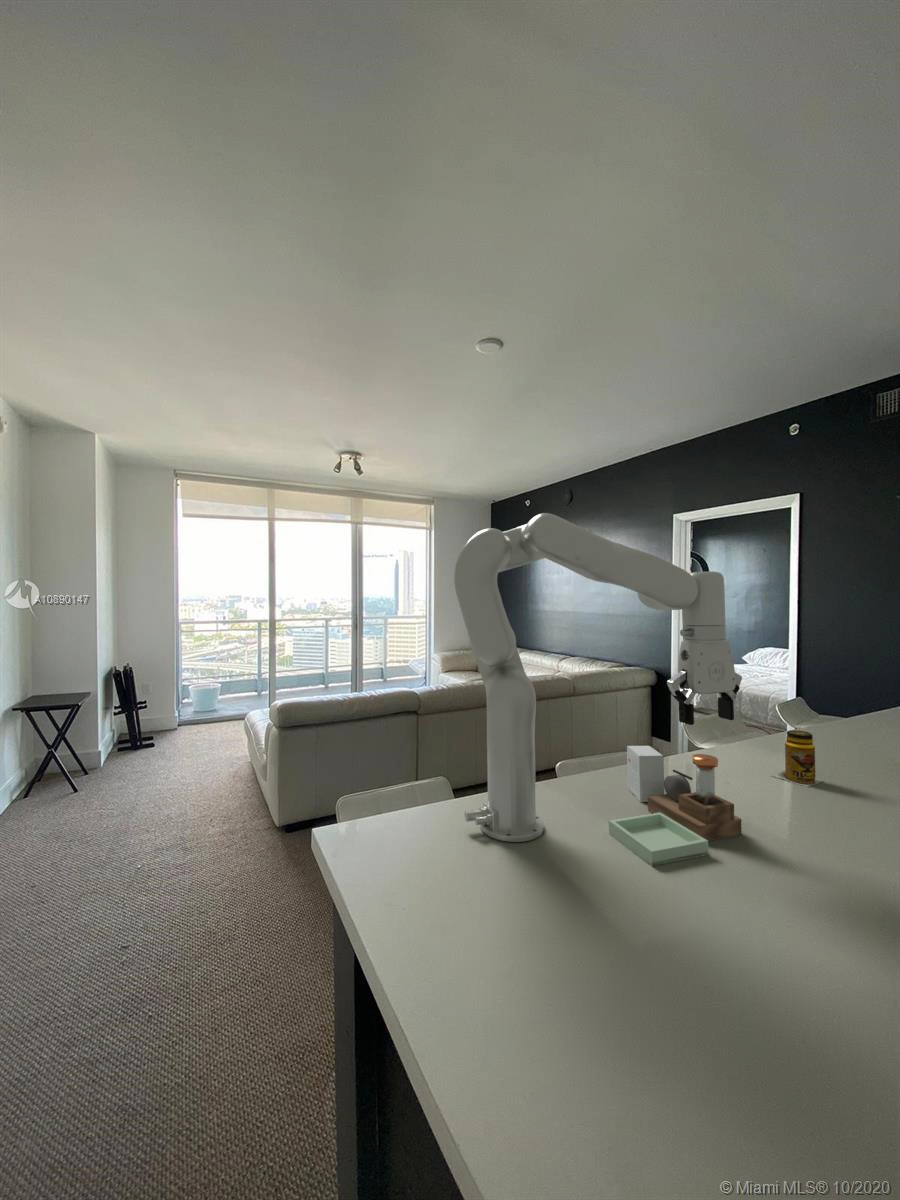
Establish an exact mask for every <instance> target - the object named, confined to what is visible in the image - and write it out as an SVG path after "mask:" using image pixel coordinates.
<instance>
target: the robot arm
mask: <svg viewBox="0 0 900 1200" xmlns="http://www.w3.org/2000/svg"><path fill="white" fill-rule="evenodd" d="M460 550H461V551H460V552H459V553H458V556H457V559H456V563H455V566H454V567H455V568H454V573H453V575H454V577H453V581H454V582H453V583H454V589H455V594H456V598H457V601H458V604H459V607H460V612H461V614H462V619H463V621H464V625H465V628H466V632H467V634H468V637H469V645H470V649H471V651H472V653H473V656H474V659H475V661H476V665H477V667H478V671H479V673H480V676H481V680H482V682H483V686H484V688H485V689H484V690H485V694H486V695H485V696H486V750H487V751H486V752H487V754H486V755H487V759H486V760H487V801H483V805H482V806H483V807H479V809H476V810H474V809H473V810H467V811H466V810H465V811H464V820H465V822H467V823H468V822H474V824H475V825H476V826H480V829H481V831H482V832H483V833H484V834H485V835H486V836H488V837H490V838H492V839H495V840H497V841H500V842H501V841H503V842H507V843H508V842H509V843H522V842H523V843H524V842H529V841H531V840H534V839H537V838H538V837H540V836H541V835H542V834H543V833H544V828H545V824H544V820H542V818H541V817H540V816H539V815H538V814H536V812H537V811H536V749H535V748H536V744H535V743H536V741H535V733H536V732H535V731H536V730H535V729H536V715H537V713H536V710H537V696H536V690H535V687H534V685H533V682H532V681H531V679H530V678H529V677H528V675H527V674H526V671H525V668H524V666H523V663H522V660H521V656H520V653H519V650H518V647H517V637H516V634H515V632H514V629H513V628H512V626H511V623H510V621H509V619H508V616H507V612H506V610H505V606H504V603H503V600H502V595H501V593H500V589H499V586H498V577H499V576H498V574H499V573H502V572H504V571H505V572H506V571H508V570H512V569H515V568H518V567H522V566H525V565H529V564H531V563H535V562H537V561H541V560H543V559H546V560H549V561H551V562H553V563H555V564H557V565H559V566H561V567H563V568H565V569H568V570H570V571H572V572H574V573H576V574H578V575H581V576H582V577H585V578H586V579H588V580H592V581H595V582H598V583H603V584H609V585H615V586H619V587H622V588H625V589H627V590H628V589H629V590H631V591H633V592H636V593H637V597H638V599H639V601H640V602H641V604H643V605H644V606H646V607H647V608H649V609H653V610H656V611H657V610H660V611H662V610H664V611H667V610H669V611H670V610H671V611H680V610H681V619H682V620H681V621H682V629H680V630H679V635H680V636H681V637H682V641H681V643H680V647H679V653H678V654H679V655H678V662H677V663H678V666H677V672H678V673H677V674H676V675H675V674H674V675H673V676H672V677H671V678H669V679H668V680H667V681H666V685H667V686H668V689H669V691H670V695H672V697H673V698H674V699H675V702H677V703H678V721H679V723H683V724H685V725H688V726H694V724H695V714H694V713H695V710H694V709H695V707H694V704H693V703H692V701H693V700H694V698H695V696H696V695H713V694H718V695H719V697H717V715H718V717H719V718H721V719H723V720H724V719H725V720H729V721H734V720H735V710H734V709H735V705H734V701H735V700H736V699H737V693H738V692H739V690H740V685H741V684H742V683H741V682H742V680H743V676H742V675H740V674H739V673H737V672H736V670H735V663H734V656H733V650H732V647H731V643H730V640H727V625H726V595H725V578H724V575H723V574H722V573H721V572H719V571H710V570H709V571H695V572H694V571H693V572H688V571H687V570H685V569H683V568H681V567H679V566H677V565H675V564H673V563H671V562H669V561H666V560H664V559H662V558H660V557H658V556H655V555H653V554H651V553H647V552H645V551H642V550H640V549H636V548H632V547H629V546H627V545H624V544H622V543H618V542H614V541H612V540H609V539H607V538H605V537H603V536H601V535H598V534H596V533H594V532H592V531H589V530H587V529H585V528H583V527H581V526H579V525H577V524H575V523H573V522H570V521H569V520H567V519H565V518H562V517H560V516H558V515H555V514H554V513H549V512H542V513H539V514H536V515H535V516H533V517H532V518H531V519H530V520H529V521H528V522H527V523H526V524H523V525H520V526H517V527H515V528H511V529H509V530H504V531H502V530H500V529H498V528H494V527H493V528H492V527H488V528H484V529H481V530H479V531H477V532H475V534H474V535H472V536H471V537H470V538H469V539H468V541H467V542H466V543H465V544H464V546H463V547H462V549H460Z"/></svg>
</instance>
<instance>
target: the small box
mask: <svg viewBox="0 0 900 1200" xmlns="http://www.w3.org/2000/svg"><path fill="white" fill-rule="evenodd" d="M664 762H665V761H664V755H663V754H661V753H660V752H659V751H657V750H656V749H655V748H653V747H652V746H650V745H626V763H627V764H626V765H627V768H626V769H627V789H628V791H629V792H630V793H631V794H632V793H633V794H634V795H635V796H634V795H633V794H632V795H633V796H634V797H635V798H636V799H637V800H638V801H639V802H640V803H648V797H651V796H658V795H664V794H665V788H664V781H665V767H664V765H665V764H664Z"/></svg>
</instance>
